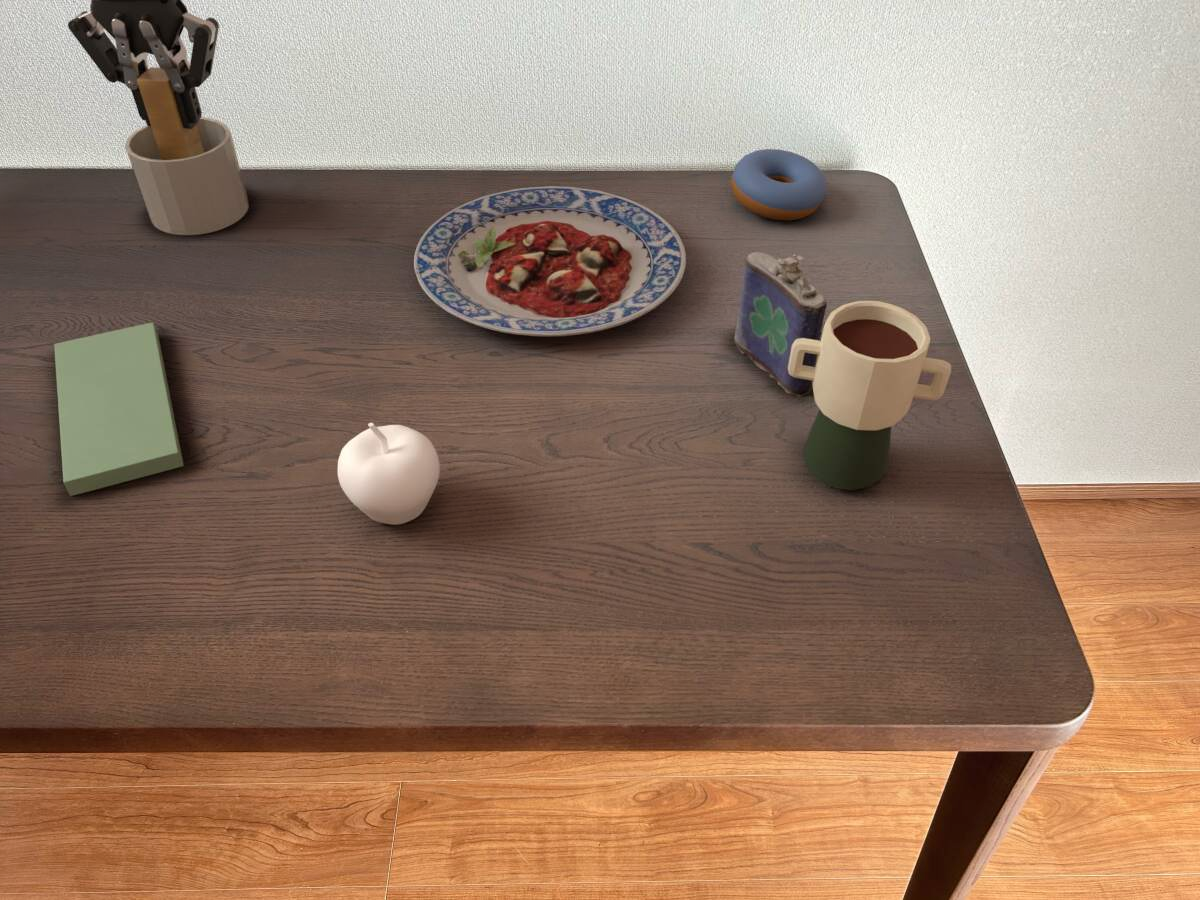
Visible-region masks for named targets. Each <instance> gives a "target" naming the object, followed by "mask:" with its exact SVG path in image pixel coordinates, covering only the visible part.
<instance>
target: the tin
mask: <svg viewBox="0 0 1200 900" xmlns="http://www.w3.org/2000/svg"><path fill="white" fill-rule="evenodd" d="M196 125H197V128H198V132H199V135H200V139H201V142H202V146H203V149H204V153H202V154H200V155H197V156H193V157H188V158H183V159H175V160H162V158H161V155H160V152H159V148H158V145H157V142H156V139H155V136H154V133H153V130H152V127H150V126H147V124H146V125H144V126H143V127H140V128H139V129H137V130H136V131H133V133H132V134H131V135H129V136H128V138H127V139H126V141H125V145H124V148H125V151H126V154H127V157H128V159H129V162H130V165H131V168H132V171H133V174H134V176H135V179H136V182H137V186H138V189H139V191H140V195H141V197H142V200H143V203H144V206H145V208H146V209H145V210H146V211H147V214H148V217H149V220H150V222H151V224H152V225H153V227H154V228H156V229H158V230H159V231H161V232H164V233H167V234H171V235H177V236H198V235H204V234H205V235H206V234H209V233H214V232H218V231H221V230H223V229H226V228H228V227H230V226H232V225H234V224H235V223H237V222H239V221H240V220H241V219H242V218H243V217H244V216H245V215H246V213H248V210H249V205H250V204H249V198H248V193H247V189H246V186H245V182H244V179H243V175H242V170H241V166H240V163H239V159H238V156H237V152H236V151H237V150H236V147H235V144H234V141H233V137H232V133H231V130H230V129H229V127H228V126H227V124H225V123H224V122H222V121H220V120H218V119H214V118H209V117H206V116H201V118H200V119H199V121H198V123H197V124H196Z"/></svg>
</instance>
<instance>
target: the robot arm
mask: <svg viewBox="0 0 1200 900" xmlns="http://www.w3.org/2000/svg"><path fill="white" fill-rule="evenodd" d="M89 6H90V7H89V9H90V10H89V11H87V10H84V11H82V12H81V13H78V14H77V15H75V16H74V17H73V18H71V20H70V21H68V22H67V27H68V30H69V31H70V32H71V34H72V35H73V36H74V38H75V39H76V40H77V41H78V43H79V44H80V45H81V47H82V49H83V50H84V51H85V53H87V55H88V56H89V57H90V59H91V60H92V62H93V63H94V65H96V67H97V68H98V70H99V71H100V73H102V75H103V76H104V77H105V79H106V80H107V81H108V82H110V83H113V84H114V83H116V82H118V83H120V84H121V83H122V84H123V85H125V86H126V87H127V88H128V89H129V90H130V91H131V94H132V97H133V100H134V103H135V105H136V110H137V112H138V115H139V117H140V118H141V120H142V121H145V124H146V125H147V126H150V127H151V123H150V120H149V117H148V114H147V111H146V108H145V105H144V101H143V98H142V95H141V92H140V89H139V86H138V83H137V79H138V78H139V77H140V76H141V75H142V74H143V73H145V72H146V71H147V70H148V69H149V65H148V56H149V55H153V56H154V59H155V61H156V62H157V66H158V68H161V69H163V70H164V71H165V73H166V75H167V77H168V79H169V81H170V83H171V86H172V88H173V89H174V90H175V92H174V93H173V94H174V98H175V101H176V105H177V108H178V111H179V115H180V118H181V121H182V125H183V127H184V128H185V129H193V128H194V126H195V125H196V124H197V123H198V121H199V119H200V118H201V117H202V114H203V110H202V108H201V104H200V100H199V97H198V92H197V90H196V88H199V87H201V86H202V84H203V83H204V82H205V81H206V80H207V79H208V78H210V76H211V75H212V71H213V65H214V59H215V52H216V47H217V42H218V41H217V40H218V34H219V28H220V24H219V22H218V21H217V19H215V18H214V17H208V18H206V19H203V18H201V17H198V16H196V15H194V14H192V13H191V12H189V10H188V8H187V6H186V4H185V3H184V2H183V0H90V5H89ZM184 28H185V29H186V31H187V37H188V41H189V42H190V43H192V49H191V57H190V62H189V60H188V51H187V48H186V47H185V45H184V43H183V40H182V38H181V35H182V33H183V31H184ZM105 31H106V32H107V33H108V34H109V35H110V36H111V38H112V39H114V40H115V44H114V43H113V42H112V40H111V39H110V38H109V36H108V35H107V33H106V32H105Z"/></svg>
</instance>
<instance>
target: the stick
mask: <svg viewBox="0 0 1200 900" xmlns="http://www.w3.org/2000/svg"><path fill="white" fill-rule="evenodd" d="M137 83H138V86H139V89H140V92H141V95H142V98H143V101H144V105H145V108H146V111H147V114H148V117H149V120H150V123H151V127H152V130H153V133H154V136H155V139H156V142H157V145H158V148H159V152H160V155H161V158H162V160H175V159H183V158H188V157H193V156H197V155H200V154H202V153H204V149H203V146H202V142H201V139H200V135H199V132H198V128H197V125H195V126H194V128H193V129H185V128H184V127H183V125H182V121H181V118H180V115H179V111H178V108H177V105H176V101H175V98H174V94H173V93H174V92H175V90H174V89H173V88H172V86H171V83H170V81H169V79H168V77H167V75H166V73H165V71H164V70H163V69H161V68H160V67H155V66H150V67H148V70H147V71H146V72H145V73H143V74H142V75H141V76H140V77H139V78H138V79H137Z"/></svg>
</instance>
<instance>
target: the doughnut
mask: <svg viewBox="0 0 1200 900" xmlns="http://www.w3.org/2000/svg"><path fill="white" fill-rule="evenodd" d="M730 187H731V190H732V193H733V196H734V198H735V199H736V200H737V201H738V202H739V203H740V205H741V206H742V207H744V209H746V210H748V211H750V212H751V213H753V214H755V215H757V216H760V217H763V218H765V219H771V220H775V221H795V220H800V219H803V218H806V217H808V216H810V215H812V214H813V213H814V212H815V211H816V210H817V209H818V208H819V206H821V205H822V202H823V200H824V197H825V196H826V190H827V180H826V178H825V175H824V174H823V172H822V170H821V169H820V167H818V166H817V165H816V164H815V163H814V161H812V160H810V159H808V158H807V157H806V156H803V155H801V154H798V153H795V152H793V151H788V150H784V149H778V148H775V149H773V148H765V149H758V150H755V151H752V152H750V153H747V154H745V155H744V156H743V157H742V158H741V159H740V160H738V162H737V163H736V164H735V166H734V169H733V171H732V175H731V178H730Z"/></svg>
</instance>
